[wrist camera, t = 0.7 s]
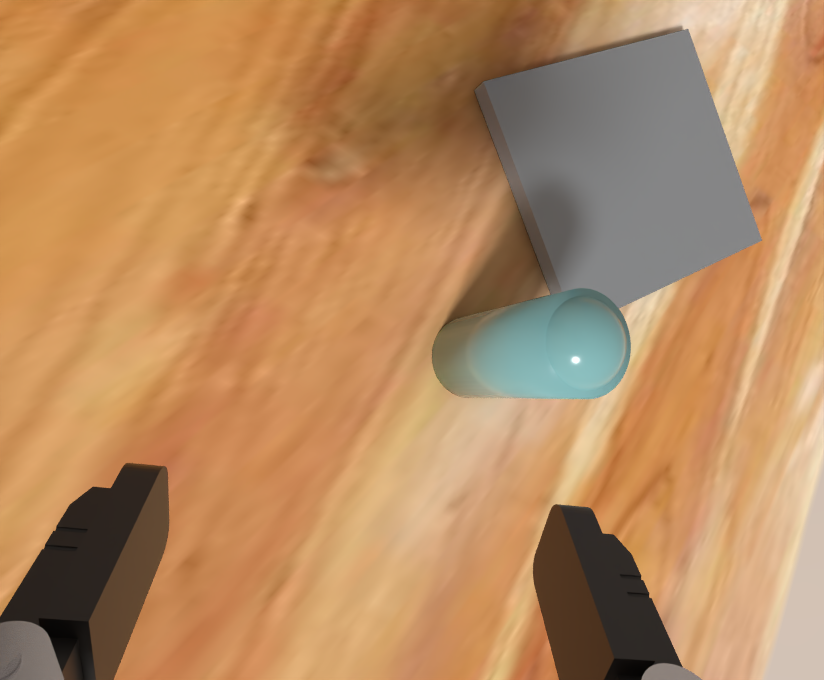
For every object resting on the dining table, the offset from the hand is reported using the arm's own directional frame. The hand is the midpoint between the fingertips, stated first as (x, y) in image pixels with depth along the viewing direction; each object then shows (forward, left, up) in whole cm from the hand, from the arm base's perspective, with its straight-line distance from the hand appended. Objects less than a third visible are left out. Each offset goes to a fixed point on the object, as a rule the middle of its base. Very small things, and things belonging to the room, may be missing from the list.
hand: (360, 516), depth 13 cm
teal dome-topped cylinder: (+1, +14, -20) cm, 25 cm away
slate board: (-6, +30, -20) cm, 37 cm away
